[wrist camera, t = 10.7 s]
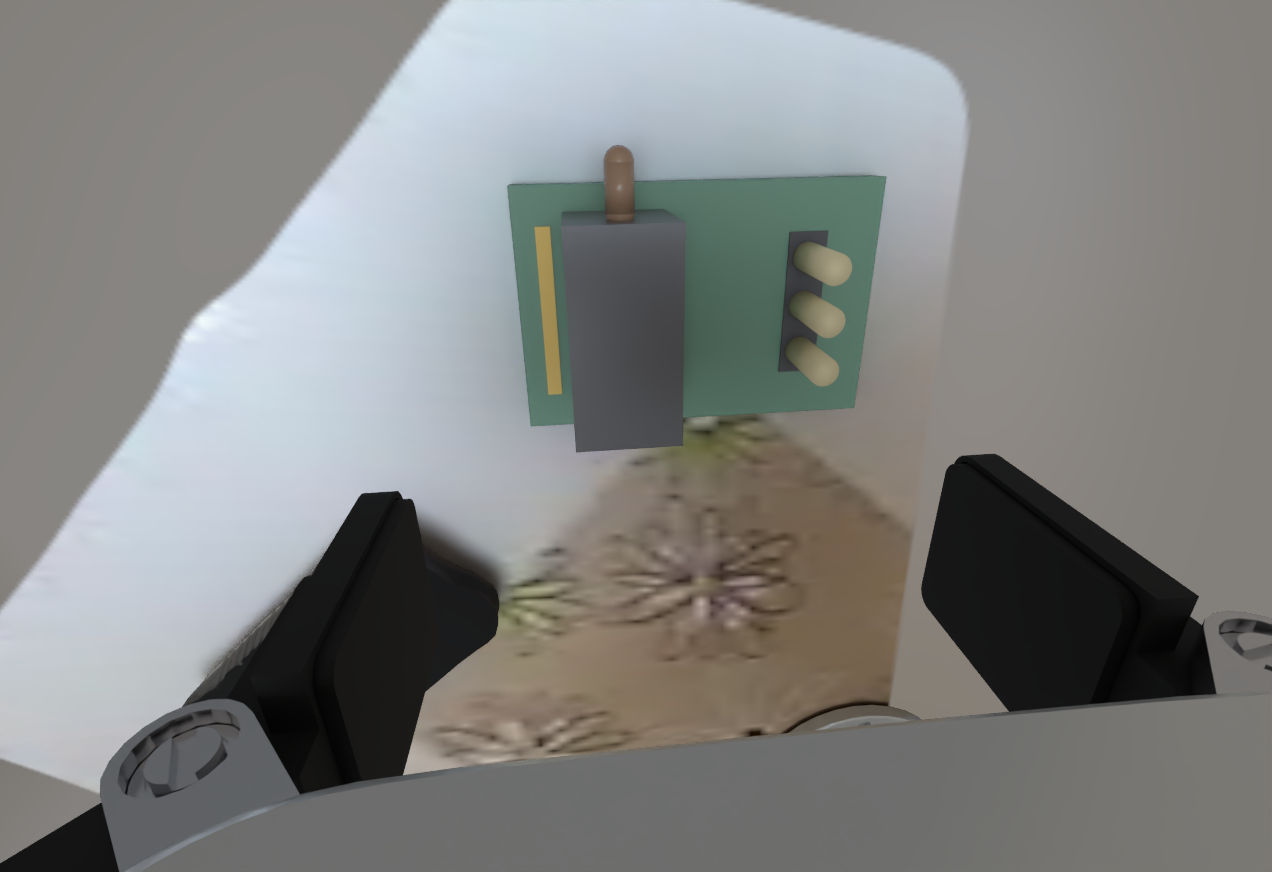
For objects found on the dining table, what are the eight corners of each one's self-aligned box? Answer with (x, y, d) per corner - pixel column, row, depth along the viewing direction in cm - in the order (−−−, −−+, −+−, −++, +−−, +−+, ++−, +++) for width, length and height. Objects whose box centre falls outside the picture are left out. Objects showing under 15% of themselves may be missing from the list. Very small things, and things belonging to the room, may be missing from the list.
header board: (843, 398, 30) (885, 436, 26) (532, 415, 29) (526, 458, 25) (872, 175, 26) (928, 180, 22) (510, 184, 25) (499, 191, 21)
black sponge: (389, 488, 30) (367, 531, 27) (518, 585, 33) (513, 633, 30) (194, 676, 34) (153, 734, 30) (327, 747, 37) (303, 806, 34)
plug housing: (664, 397, 28) (682, 445, 23) (574, 402, 28) (576, 452, 23) (663, 144, 24) (686, 143, 19) (557, 146, 23) (555, 146, 19)
